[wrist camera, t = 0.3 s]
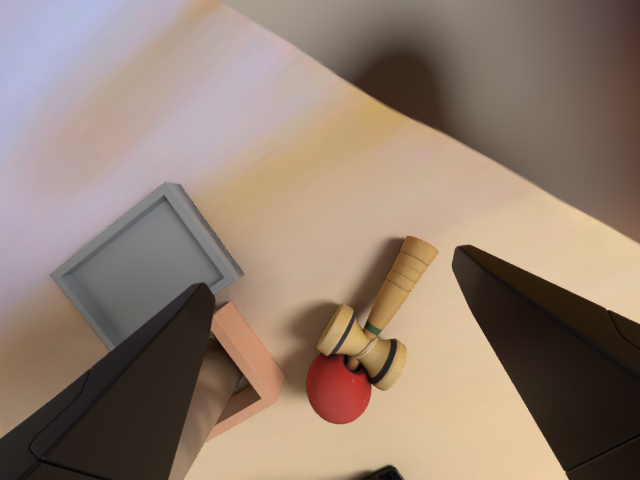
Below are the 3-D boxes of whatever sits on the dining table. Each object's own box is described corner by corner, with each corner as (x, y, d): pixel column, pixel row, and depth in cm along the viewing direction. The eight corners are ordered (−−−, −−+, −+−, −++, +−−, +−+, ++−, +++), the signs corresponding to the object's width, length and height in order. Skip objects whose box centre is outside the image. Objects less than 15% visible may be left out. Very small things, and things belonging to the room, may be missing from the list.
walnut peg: (256, 368, 26) (195, 488, 15) (218, 391, 26) (133, 521, 15) (226, 328, 25) (141, 420, 14) (188, 353, 26) (80, 457, 15)
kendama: (370, 219, 24) (284, 373, 24) (401, 221, 18) (284, 428, 18) (430, 255, 25) (348, 399, 26) (478, 268, 19) (368, 459, 19)
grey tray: (244, 274, 24) (235, 280, 22) (134, 349, 26) (117, 360, 24) (179, 184, 23) (165, 182, 21) (72, 269, 26) (49, 274, 24)
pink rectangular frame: (285, 375, 25) (276, 402, 22) (214, 416, 27) (196, 447, 23) (230, 300, 25) (212, 316, 21) (161, 347, 26) (134, 368, 23)
